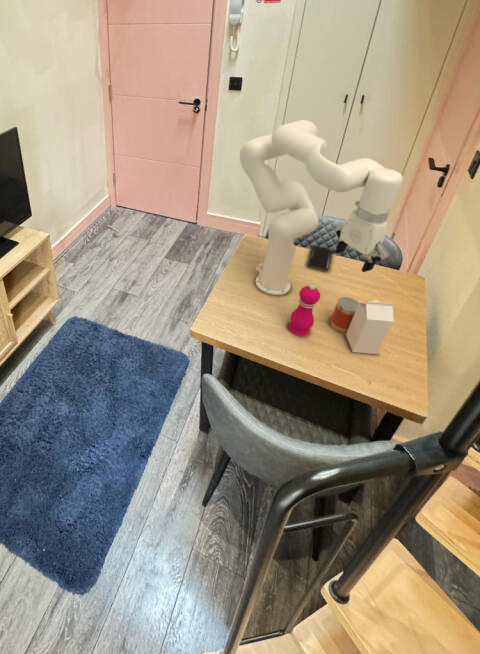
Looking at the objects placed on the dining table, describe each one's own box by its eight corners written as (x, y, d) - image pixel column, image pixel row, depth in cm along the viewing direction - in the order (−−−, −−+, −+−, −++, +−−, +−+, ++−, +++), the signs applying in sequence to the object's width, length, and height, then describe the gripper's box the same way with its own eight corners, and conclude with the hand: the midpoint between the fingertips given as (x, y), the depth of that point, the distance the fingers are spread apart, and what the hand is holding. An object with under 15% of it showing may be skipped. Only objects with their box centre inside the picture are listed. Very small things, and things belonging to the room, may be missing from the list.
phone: (332, 250, 169) (328, 270, 159) (332, 252, 170) (327, 272, 159) (312, 245, 173) (306, 264, 162) (311, 247, 173) (306, 266, 163)
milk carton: (377, 354, 126) (398, 311, 115) (352, 352, 128) (371, 309, 117) (369, 337, 132) (389, 295, 121) (345, 335, 133) (363, 293, 123)
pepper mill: (283, 322, 140) (295, 278, 128) (303, 320, 140) (317, 276, 129) (293, 338, 134) (307, 294, 123) (314, 335, 134) (330, 291, 123)
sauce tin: (325, 321, 139) (332, 300, 133) (340, 315, 141) (348, 294, 135) (340, 334, 134) (349, 313, 128) (356, 328, 135) (365, 307, 130)
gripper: (336, 201, 116) (320, 248, 126) (388, 232, 103) (367, 281, 113) (356, 196, 118) (339, 242, 128) (411, 225, 105) (387, 275, 114)
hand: (352, 260), depth 120 cm, fingers open, 9 cm apart
